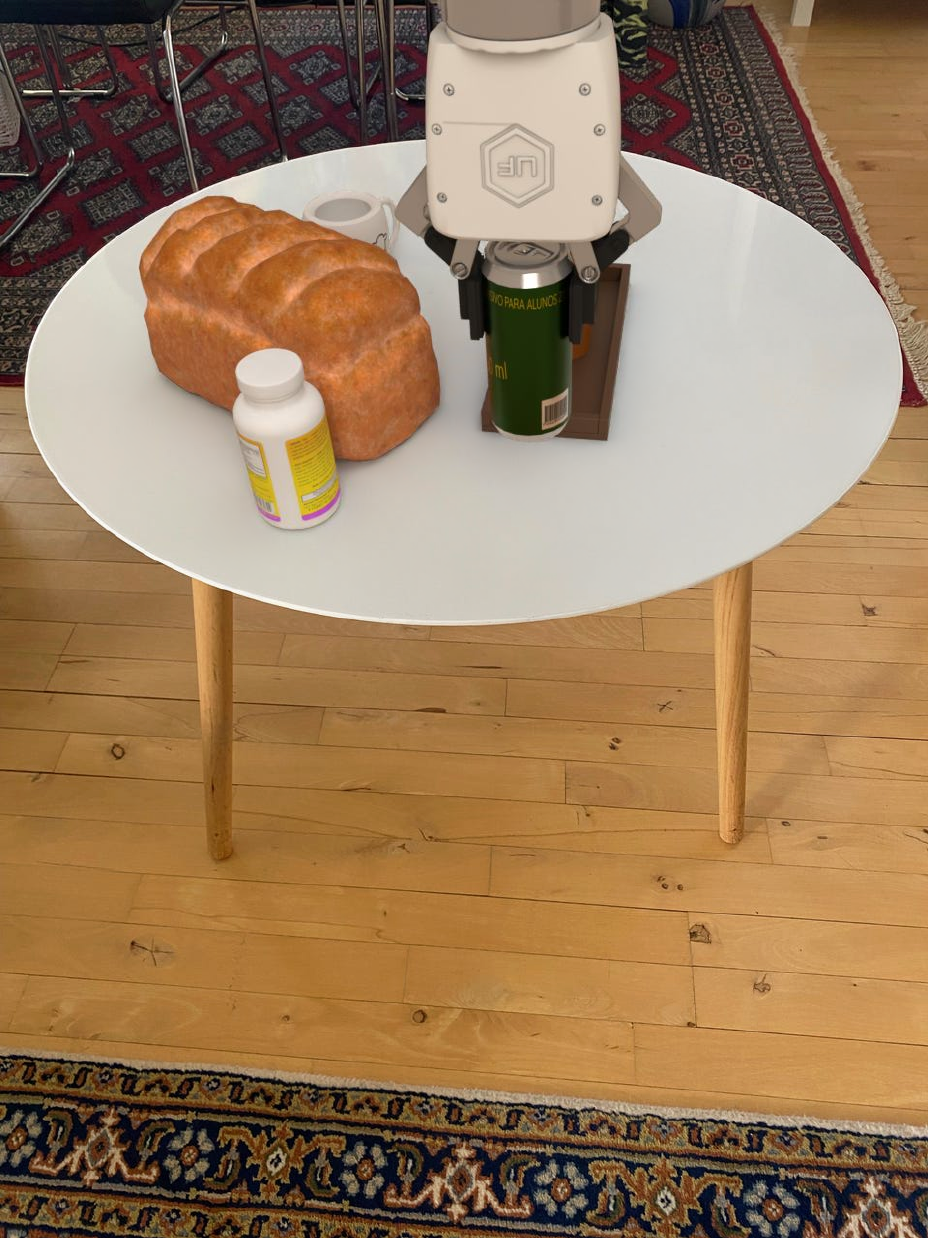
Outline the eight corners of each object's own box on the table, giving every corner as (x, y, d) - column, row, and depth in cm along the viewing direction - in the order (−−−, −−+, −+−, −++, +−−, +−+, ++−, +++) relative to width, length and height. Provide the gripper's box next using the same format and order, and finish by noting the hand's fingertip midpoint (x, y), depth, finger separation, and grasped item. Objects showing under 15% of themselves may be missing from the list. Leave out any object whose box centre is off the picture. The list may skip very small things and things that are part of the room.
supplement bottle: (349, 479, 80) (325, 340, 71) (333, 535, 76) (306, 395, 66) (268, 476, 81) (234, 339, 71) (249, 532, 76) (209, 392, 67)
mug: (355, 310, 98) (344, 234, 92) (294, 286, 101) (280, 211, 95) (432, 260, 104) (426, 185, 98) (372, 239, 107) (363, 166, 102)
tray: (629, 283, 99) (631, 263, 97) (607, 440, 82) (608, 420, 80) (524, 277, 100) (524, 258, 99) (481, 431, 84) (480, 410, 82)
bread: (251, 311, 98) (215, 153, 87) (461, 399, 87) (451, 230, 75) (143, 378, 91) (88, 215, 80) (356, 484, 80) (328, 311, 68)
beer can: (587, 415, 65) (592, 242, 57) (536, 455, 63) (534, 281, 54) (524, 387, 68) (520, 218, 59) (473, 425, 66) (461, 254, 57)
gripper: (329, 22, 46) (379, 358, 60) (702, 16, 43) (667, 371, 57) (368, -27, 51) (406, 294, 65) (706, -34, 48) (673, 303, 62)
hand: (528, 327), depth 60 cm, fingers closed on beer can, 5 cm apart
